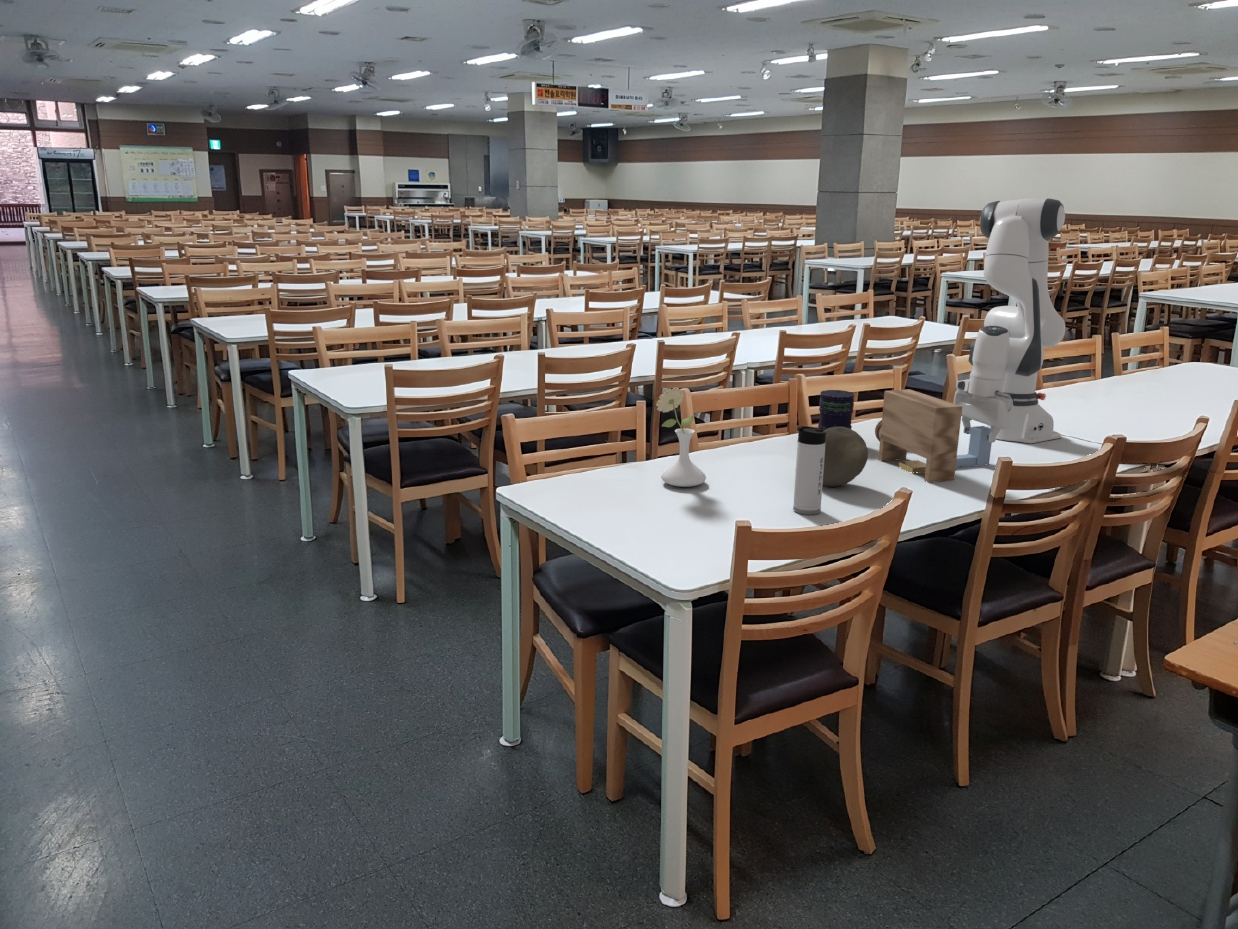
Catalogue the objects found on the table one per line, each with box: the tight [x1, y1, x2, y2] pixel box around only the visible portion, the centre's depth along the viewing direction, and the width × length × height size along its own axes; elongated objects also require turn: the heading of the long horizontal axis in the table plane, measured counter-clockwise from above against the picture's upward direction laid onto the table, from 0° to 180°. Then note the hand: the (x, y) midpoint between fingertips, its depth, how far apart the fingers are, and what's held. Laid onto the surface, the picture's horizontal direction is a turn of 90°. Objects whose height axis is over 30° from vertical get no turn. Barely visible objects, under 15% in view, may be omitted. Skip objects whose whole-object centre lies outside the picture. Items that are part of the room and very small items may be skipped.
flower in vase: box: [655, 386, 707, 488], centre depth 230 cm, size 13×11×25 cm
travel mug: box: [792, 425, 826, 516], centre depth 212 cm, size 6×7×20 cm
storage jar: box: [817, 389, 855, 431], centre depth 272 cm, size 10×10×15 cm
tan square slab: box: [898, 459, 926, 474], centre depth 248 cm, size 6×6×2 cm
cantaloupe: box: [822, 427, 869, 488], centre depth 232 cm, size 14×14×15 cm
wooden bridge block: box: [877, 389, 962, 483], centre depth 245 cm, size 8×22×20 cm, turn 19°
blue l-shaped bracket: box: [956, 425, 992, 468], centre depth 251 cm, size 16×4×10 cm, turn 109°
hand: (978, 437), depth 252 cm, fingers open, 8 cm apart
